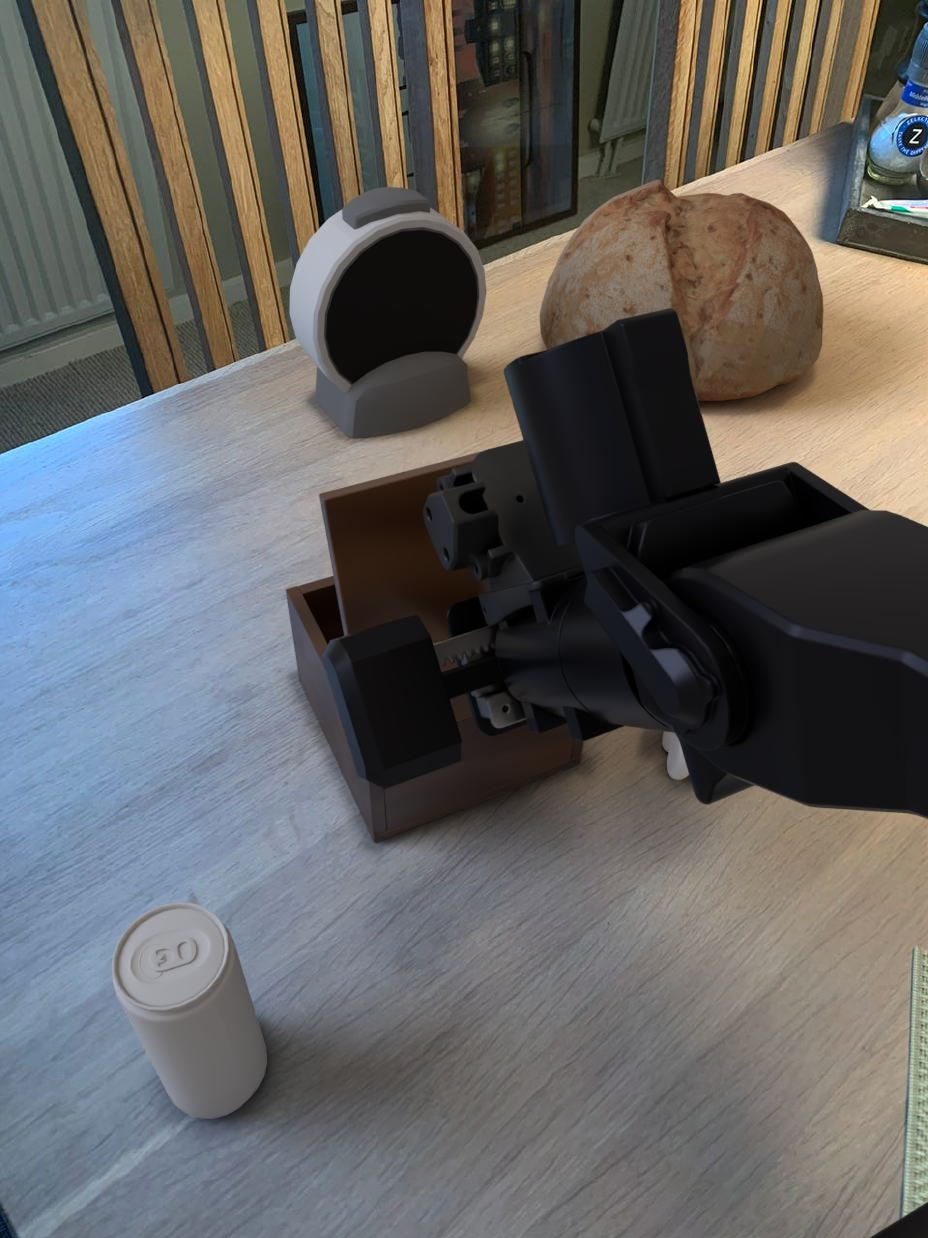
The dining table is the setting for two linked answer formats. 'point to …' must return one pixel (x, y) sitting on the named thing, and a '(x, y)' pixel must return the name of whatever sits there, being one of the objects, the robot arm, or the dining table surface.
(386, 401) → the alarm clock
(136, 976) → the beverage can
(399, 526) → the lid
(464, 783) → the box
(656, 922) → the dining table surface
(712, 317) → the bread
